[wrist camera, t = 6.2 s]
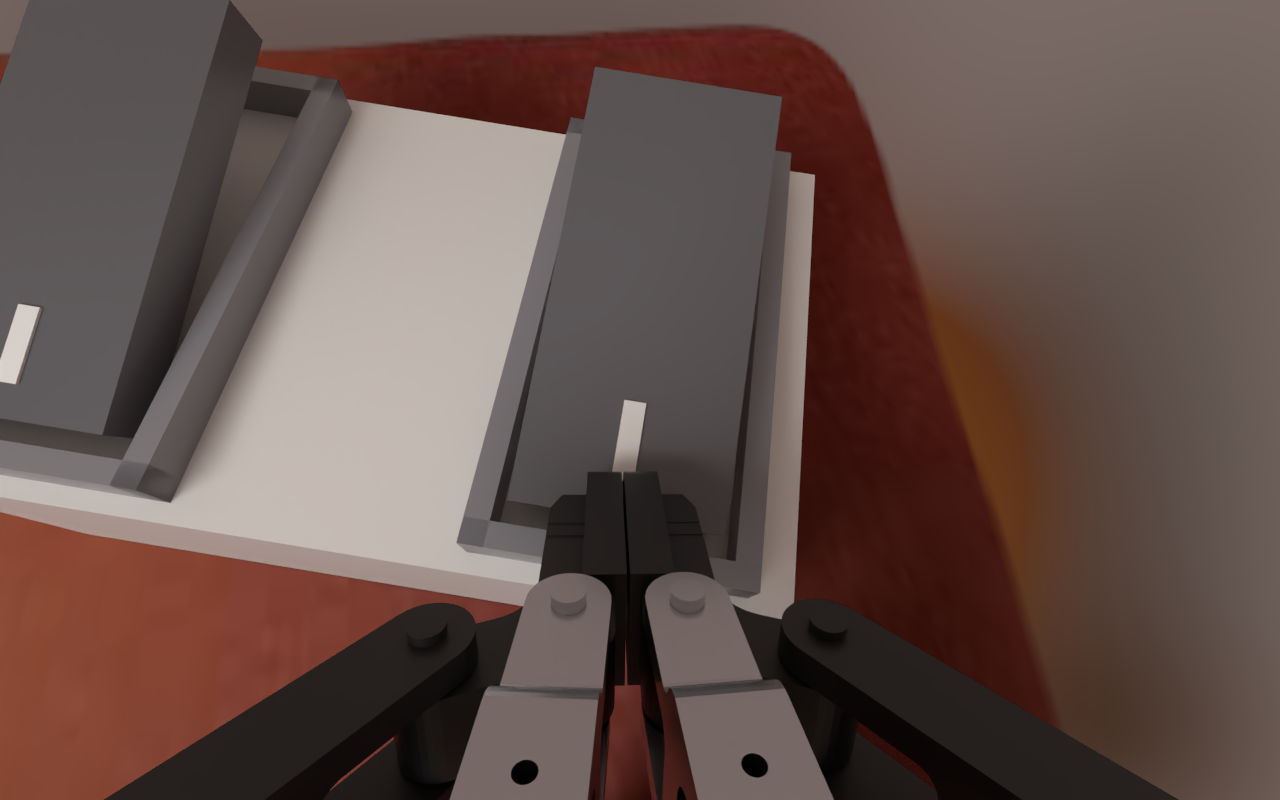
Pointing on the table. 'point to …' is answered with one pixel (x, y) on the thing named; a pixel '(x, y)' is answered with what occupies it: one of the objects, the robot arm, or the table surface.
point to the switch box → (395, 363)
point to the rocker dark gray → (652, 294)
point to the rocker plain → (109, 197)
